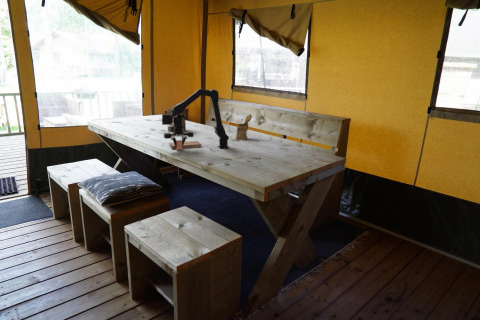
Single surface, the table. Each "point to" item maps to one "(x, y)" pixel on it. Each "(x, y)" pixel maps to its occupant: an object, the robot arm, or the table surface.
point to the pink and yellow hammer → (179, 144)
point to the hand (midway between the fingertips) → (179, 147)
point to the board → (187, 144)
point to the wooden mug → (243, 129)
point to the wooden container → (173, 119)
